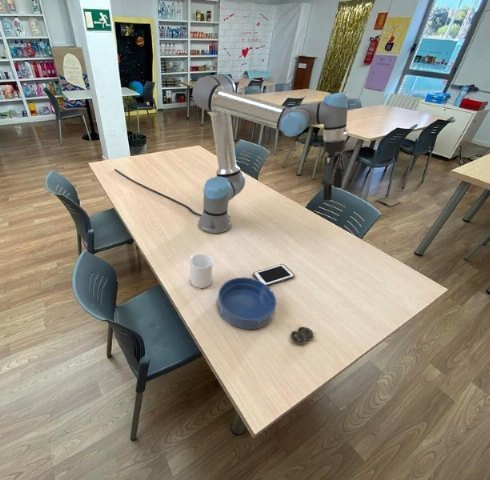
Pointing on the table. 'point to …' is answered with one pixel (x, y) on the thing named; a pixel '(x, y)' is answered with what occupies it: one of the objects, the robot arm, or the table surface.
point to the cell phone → (273, 274)
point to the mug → (201, 270)
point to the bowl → (246, 303)
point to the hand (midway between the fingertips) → (332, 193)
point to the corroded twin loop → (302, 335)
